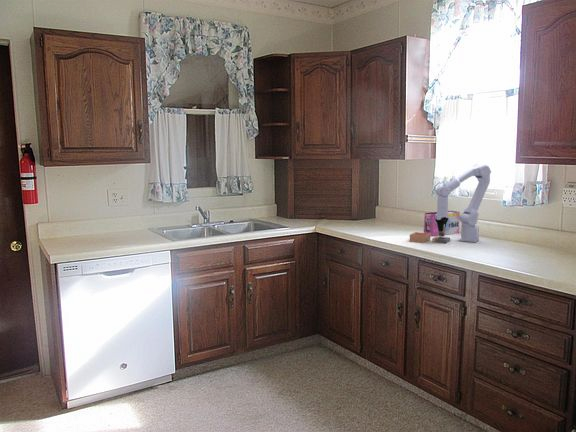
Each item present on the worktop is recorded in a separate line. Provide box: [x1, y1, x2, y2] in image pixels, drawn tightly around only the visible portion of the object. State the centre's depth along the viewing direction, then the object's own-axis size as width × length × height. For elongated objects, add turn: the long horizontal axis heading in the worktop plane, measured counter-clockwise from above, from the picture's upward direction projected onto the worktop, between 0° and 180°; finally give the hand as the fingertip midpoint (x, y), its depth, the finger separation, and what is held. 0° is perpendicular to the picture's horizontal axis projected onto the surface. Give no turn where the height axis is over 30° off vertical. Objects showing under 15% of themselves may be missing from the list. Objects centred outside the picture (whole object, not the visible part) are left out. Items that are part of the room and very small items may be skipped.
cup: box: [409, 231, 432, 244], centre depth 291 cm, size 9×9×4 cm
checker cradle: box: [431, 236, 451, 244], centre depth 288 cm, size 8×8×2 cm
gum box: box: [423, 210, 461, 237], centre depth 312 cm, size 24×8×14 cm, turn 118°
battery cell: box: [438, 224, 446, 237], centre depth 287 cm, size 3×3×8 cm
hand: (441, 230), depth 287 cm, fingers closed on battery cell, 3 cm apart
